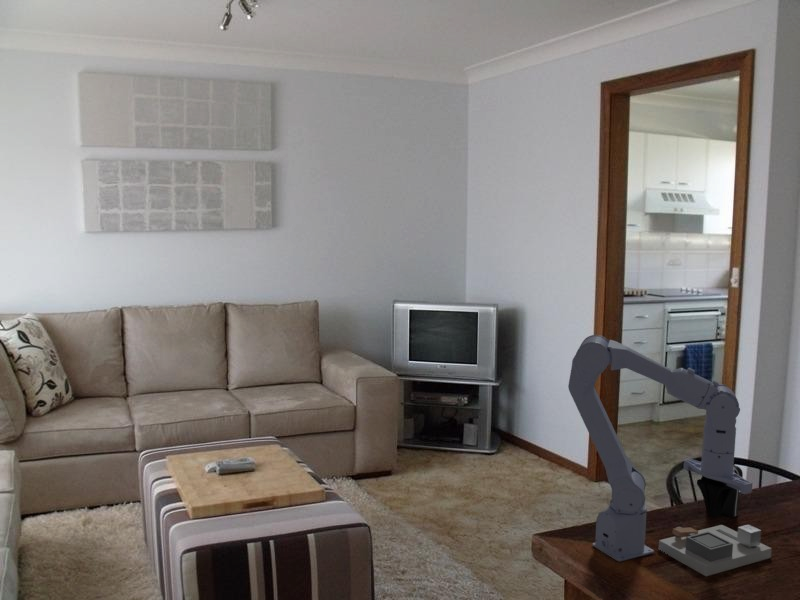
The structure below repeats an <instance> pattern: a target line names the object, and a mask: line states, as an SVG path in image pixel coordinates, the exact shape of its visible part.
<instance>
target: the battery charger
mask: <svg viewBox="0 0 800 600" xmlns="http://www.w3.org/2000/svg"><path fill="white" fill-rule="evenodd" d="M733 469H734V470H735V472H734V473H736V474H737V475H739V476H740V477H742V478H744V477H743V475H744V474H743V473H744V472H743V469H742V468H740V466H737V465H735V464H734V465H733ZM739 496H740V491H739V490H736V489H734V490H733V491H732V492H731V494H730V495H729V497H728V498H727V500H726V502H725V504H724V507H723V509H722V512H721V515H724V516H727V517H731V518H735V517H736V516H738V514H739V508H738V507H739V506H738V505H739V503H738V502H739Z"/></svg>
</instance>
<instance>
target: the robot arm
mask: <svg viewBox="0 0 800 600" xmlns="http://www.w3.org/2000/svg"><path fill="white" fill-rule="evenodd" d="M609 365H610V371H616V370H622V369H627V370H630V371H631V372H635V373H637V374H639V375H641V376H643V377H645V378H648V379H650V380H653V381H655V382H658V383H660V384H662V385H664V386H665V389H666V392H667V394H669V395H670V396H672V397H674V398H676V399H678V400H680V401H683V402H685V403H687V404H689V405H691V406H693V407H695V408H696V409H700V410H704V411H705V422H704V424H703V431H702V432H703V434H702V435H703V436H702V449H701V461H698V460H696V459H693V458H688V459H684V460H683V470H685V471H686V472H687V471H691V472H693V473H695V474H698V475H700V476H701V478H700V479H697V480H696V485H697V487H698V489H699V491H700V493H701V494H702V495H701V496H702V498H703V501H704V505H705V510H706V514H707V515H706V516H707V517H709V518H711V519H717V518H720V517H721V515H722V514H721V512H722V509H723V507H724V504H725V502H726V500H727V498H728V497H729V495H730V494H731V492H732V491H733V490H734V489H736V490H739V494H743V495H748V494H752V492H753V482H751V481H749V480H747V479H745V478H744V477H743V478H742V477H740V476H739V475H737V474H736V473H734V472H735V470H734V469H733V465H735V464H734V463H735V451H736V450H735V449H736V437H737V436H736V435H737V433H736V432H737V428H736V423H737V417H738V416H739V414H740V411H741V407H740V403H739V400H738V398H737V396H736V394H735V393H734V391H733V390H732V389H731V388H729V387H728V386H727V385H726V384H722V383H721V384H720V383H719V382H718V381H716V380H713V381H711V380H708V379H706V378H705V377H702V376H700V375H698V374H697V373H696V370H695V369H693V368H691V367H688V368H687V369H685V368H684V367H678V368H675V369H671V368H669V367H667V366H664V365H663V364H660V363H659V362H657V361H656V360H654V359H651V358H650V357H647V356H646V355H644V354H642V353H640V352H638V351H636V350H635V349H632V348H631V347H629V346H627V345H624V344H623V343H620V342H619V341H616V340H613V339H607V338H606V337H605V336H603V335H600V334H592V335H589V336H586V338H584V340H583V341H582V342H581V344H580V346H579V347H578V349H577V351H576V353H575V355H574V357H572V361H571V369H570V374H569V381H568V391H569V393H570V396H571V398H572V400H573V402H574V404H575V406H576V408H577V411H578V413H579V414H580V417H581V419H582V421H583V424H584V425H585V428H586V430H587V432H588V434H589V436H590V438H591V441H592V443H593V444H594V447H595V449H596V452H597V453H598V456H599V458H600V460H601V462H602V464H603V466H604V468H605V471H606V472H605V473H606V476H607V480H608V484H609V486H610V488H611V489H610V490H611V499H610V500H609V505H608V506H607V508H606V509H604V510H603V511H601V512H599V513H598V515H597V516H596V520H595V521H596V522H595V537H594V538H595V539H594V540H595V542H592V546H593V547H594V548H595V549H597V550H599V551H600V552H602V553H603V554H605V555H607V556H608V557H610V558H612V559H613V560H615V561H617V562H623V561H628V560H632V559H636V558H639V557H643V556H647V555H650V554H651V555H652V554H653V553H655V550H654V549H652V548H651V547H649V546H647V545H646V544H645V543H646V528H647V526H646V525H647V511H648V510H647V509H648V506H647V504H646V495H645V490H646V483H647V482H646V479H645V477H644V475H643V474H642V473H641V472H640V471H639V470H638V469H637V468H636V467H635V466H634V465H633V461H632V460H631V459H630V458H629V457H628V456H627V453H626V452H625V450H624V448H623V445H622V444H621V441H620V439H619V437H618V434H617V432H616V430H615V429H614V426H613V423H612V422H611V420H610V418H609V416H608V413H607V411H606V409H605V407H604V405H603V403H602V400H601V398H600V396H599V395H598V392H597V390H596V388H595V385H596V382H597V380H598V377H599V376H600V375H601V374H602V373H603V372H604V371H605V370H606V369H607V367H608V366H609Z"/></svg>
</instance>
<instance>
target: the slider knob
mask: <svg viewBox="0 0 800 600" xmlns="http://www.w3.org/2000/svg"><path fill="white" fill-rule="evenodd" d="M737 532H738V534H737V542H739V543H742V544H744V545H746V546H748V547H753V546H757V545H760V543H761V536H762V530H761V529H759V528H757V527H755V526H753V525H751V524H745V525H740V526H738V527H737Z"/></svg>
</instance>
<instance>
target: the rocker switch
mask: <svg viewBox="0 0 800 600" xmlns="http://www.w3.org/2000/svg"><path fill="white" fill-rule="evenodd" d="M698 531H699V530H697V529H695V528H693V527H682V528H676V527H675V528H673V529H672V534H673V535H674V536H675V535H677V536H678V537H688V536H689V534H692V533H694V534H695V535H696V534H698Z"/></svg>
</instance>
